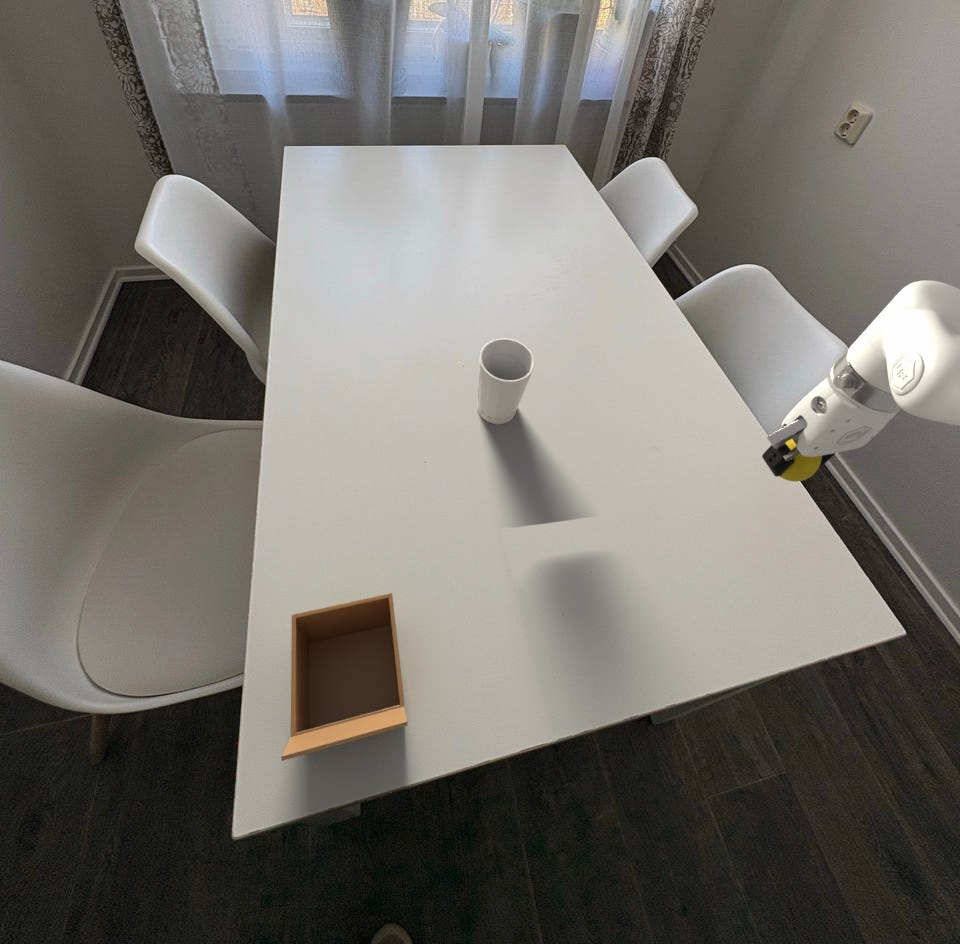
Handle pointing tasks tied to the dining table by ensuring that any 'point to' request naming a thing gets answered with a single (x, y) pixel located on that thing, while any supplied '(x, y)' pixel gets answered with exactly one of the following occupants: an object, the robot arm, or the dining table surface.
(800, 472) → the lemon
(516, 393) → the cup
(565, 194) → the dining table surface
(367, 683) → the open wooden box
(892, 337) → the robot arm
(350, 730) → the flap
